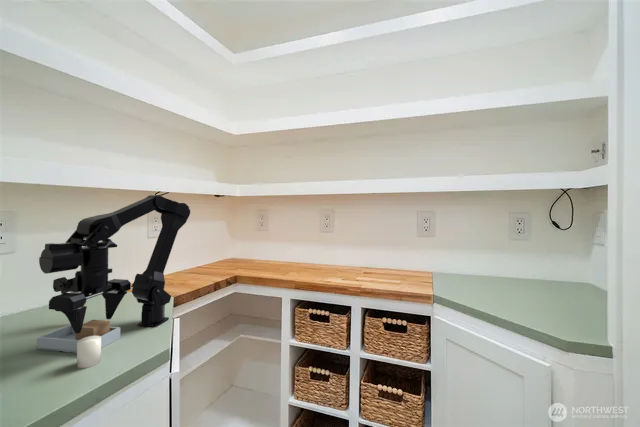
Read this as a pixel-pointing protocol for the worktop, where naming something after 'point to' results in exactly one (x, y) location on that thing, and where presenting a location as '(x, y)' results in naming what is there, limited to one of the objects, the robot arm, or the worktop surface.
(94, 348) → the cream cylinder
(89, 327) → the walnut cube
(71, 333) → the grey blue tray
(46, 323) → the worktop surface
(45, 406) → the worktop surface
